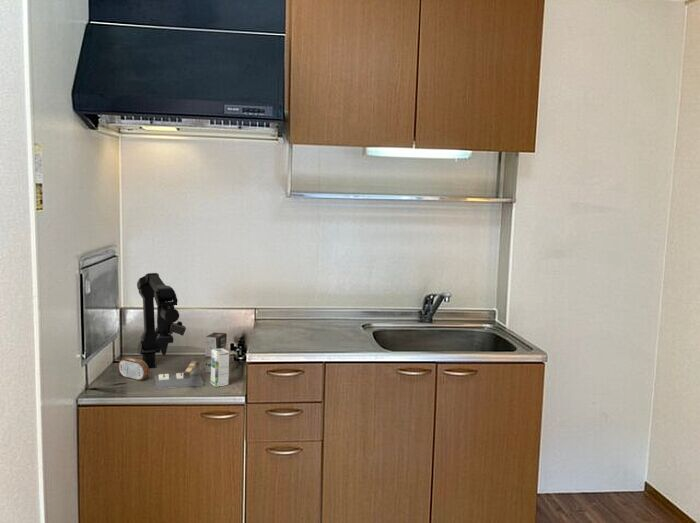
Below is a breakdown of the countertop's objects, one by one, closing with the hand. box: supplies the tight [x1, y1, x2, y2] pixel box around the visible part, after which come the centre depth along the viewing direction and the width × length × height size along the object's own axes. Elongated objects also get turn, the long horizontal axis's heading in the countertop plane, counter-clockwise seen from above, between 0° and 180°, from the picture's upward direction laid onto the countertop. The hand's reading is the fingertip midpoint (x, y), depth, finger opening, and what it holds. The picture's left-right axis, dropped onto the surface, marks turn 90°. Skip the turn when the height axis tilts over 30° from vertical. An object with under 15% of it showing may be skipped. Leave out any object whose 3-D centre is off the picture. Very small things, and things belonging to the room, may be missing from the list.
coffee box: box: [204, 332, 228, 373], centre depth 249 cm, size 9×6×16 cm
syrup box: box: [210, 349, 230, 388], centre depth 230 cm, size 6×6×14 cm
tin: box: [118, 356, 150, 381], centre depth 233 cm, size 15×3×8 cm, turn 65°
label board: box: [154, 366, 204, 389], centre depth 231 cm, size 14×18×5 cm
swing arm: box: [183, 358, 200, 379], centre depth 229 cm, size 20×4×2 cm, turn 5°
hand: (164, 354), depth 231 cm, fingers closed
